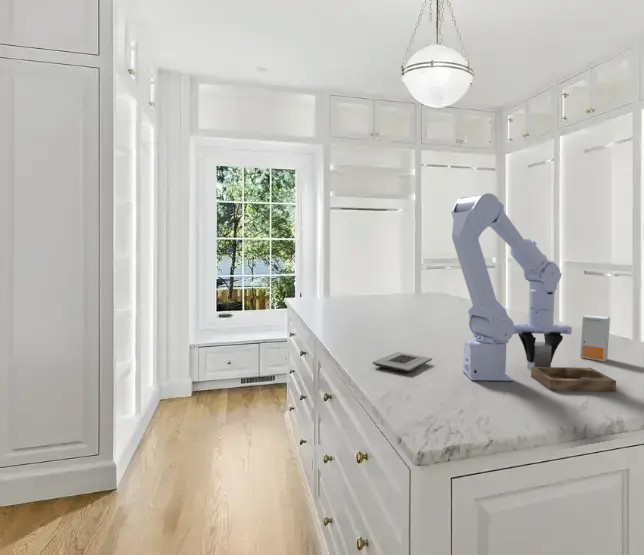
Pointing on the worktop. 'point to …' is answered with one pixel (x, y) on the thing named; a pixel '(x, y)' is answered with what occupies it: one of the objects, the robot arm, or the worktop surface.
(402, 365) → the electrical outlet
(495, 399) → the worktop surface
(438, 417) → the worktop surface
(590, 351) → the skincare box
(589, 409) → the worktop surface
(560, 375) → the wooden tray
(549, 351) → the metal peg
